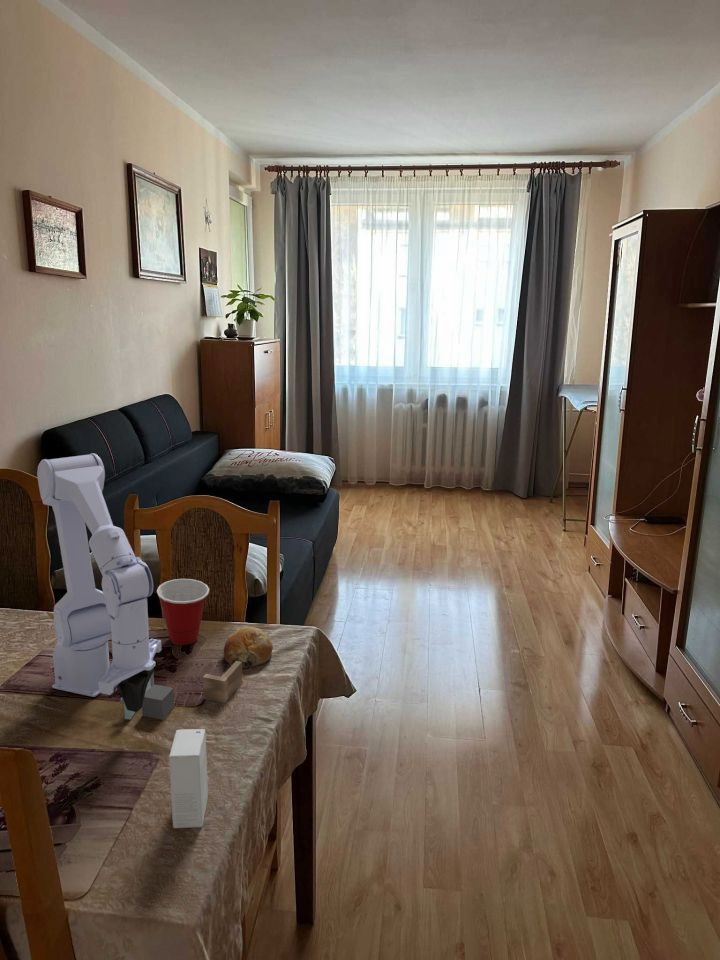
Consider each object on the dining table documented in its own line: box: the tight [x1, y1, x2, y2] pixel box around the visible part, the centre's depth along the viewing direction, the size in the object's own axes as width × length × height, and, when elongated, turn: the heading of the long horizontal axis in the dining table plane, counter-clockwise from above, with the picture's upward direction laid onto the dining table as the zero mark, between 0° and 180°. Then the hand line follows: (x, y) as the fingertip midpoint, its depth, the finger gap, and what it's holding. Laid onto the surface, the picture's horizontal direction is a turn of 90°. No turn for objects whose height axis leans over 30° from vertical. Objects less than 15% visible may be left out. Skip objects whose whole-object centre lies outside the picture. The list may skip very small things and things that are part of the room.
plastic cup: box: [156, 578, 210, 646], centre depth 144 cm, size 11×11×12 cm
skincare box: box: [168, 728, 209, 829], centre depth 95 cm, size 6×4×12 cm
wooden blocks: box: [202, 661, 243, 704], centre depth 128 cm, size 20×7×4 cm, turn 74°
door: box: [119, 673, 155, 720], centre depth 122 cm, size 12×2×4 cm, turn 177°
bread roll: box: [223, 625, 274, 669], centre depth 139 cm, size 10×10×8 cm
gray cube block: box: [141, 683, 175, 721], centre depth 119 cm, size 4×4×4 cm
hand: (134, 708), depth 112 cm, fingers closed
